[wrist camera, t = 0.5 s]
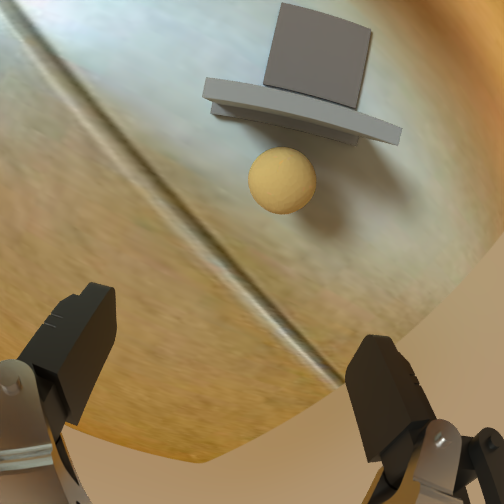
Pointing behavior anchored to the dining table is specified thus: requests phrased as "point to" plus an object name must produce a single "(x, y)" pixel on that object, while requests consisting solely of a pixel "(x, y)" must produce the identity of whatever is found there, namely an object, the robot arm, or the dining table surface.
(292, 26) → the mat
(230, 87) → the screen
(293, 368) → the dining table surface
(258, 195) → the yellow light bulb
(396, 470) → the robot arm
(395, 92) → the dining table surface
